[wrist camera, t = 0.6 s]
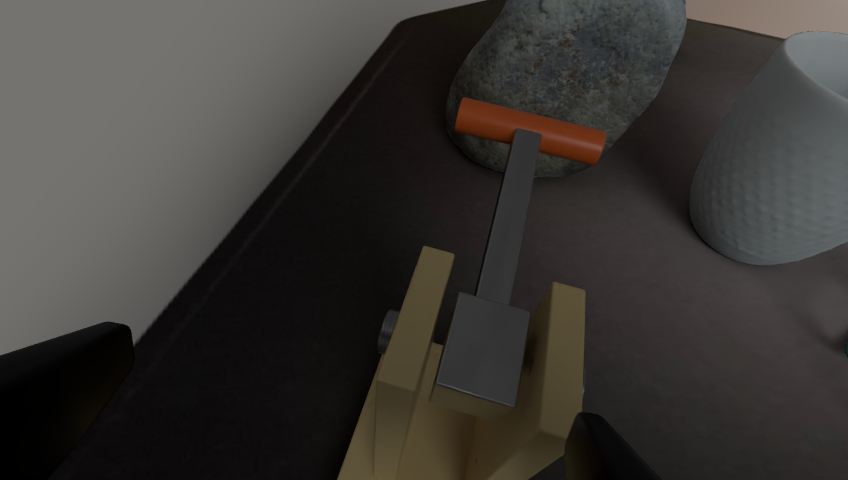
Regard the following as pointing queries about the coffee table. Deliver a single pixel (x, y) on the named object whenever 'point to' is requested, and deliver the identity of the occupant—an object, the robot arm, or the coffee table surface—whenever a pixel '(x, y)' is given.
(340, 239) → the coffee table surface
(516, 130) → the lever
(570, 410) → the bracket
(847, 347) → the sunglasses
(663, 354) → the coffee table surface
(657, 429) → the coffee table surface
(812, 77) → the mug
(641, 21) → the stone
